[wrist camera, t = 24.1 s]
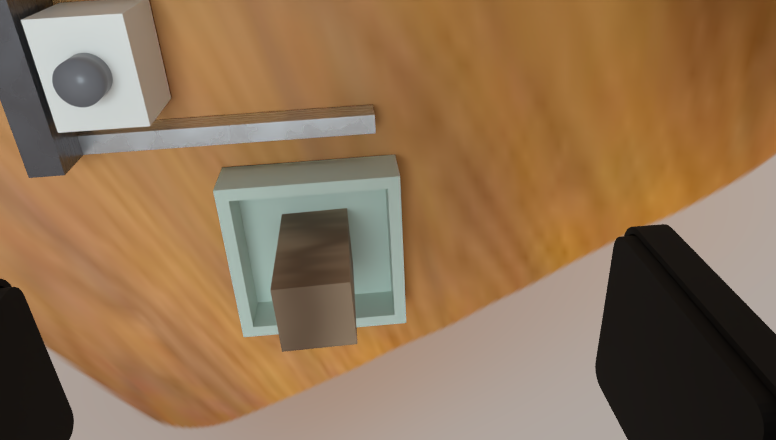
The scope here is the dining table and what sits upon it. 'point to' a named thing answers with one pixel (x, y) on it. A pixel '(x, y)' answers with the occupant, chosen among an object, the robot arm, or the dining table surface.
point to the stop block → (314, 281)
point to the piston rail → (62, 150)
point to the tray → (304, 194)
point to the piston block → (99, 64)
